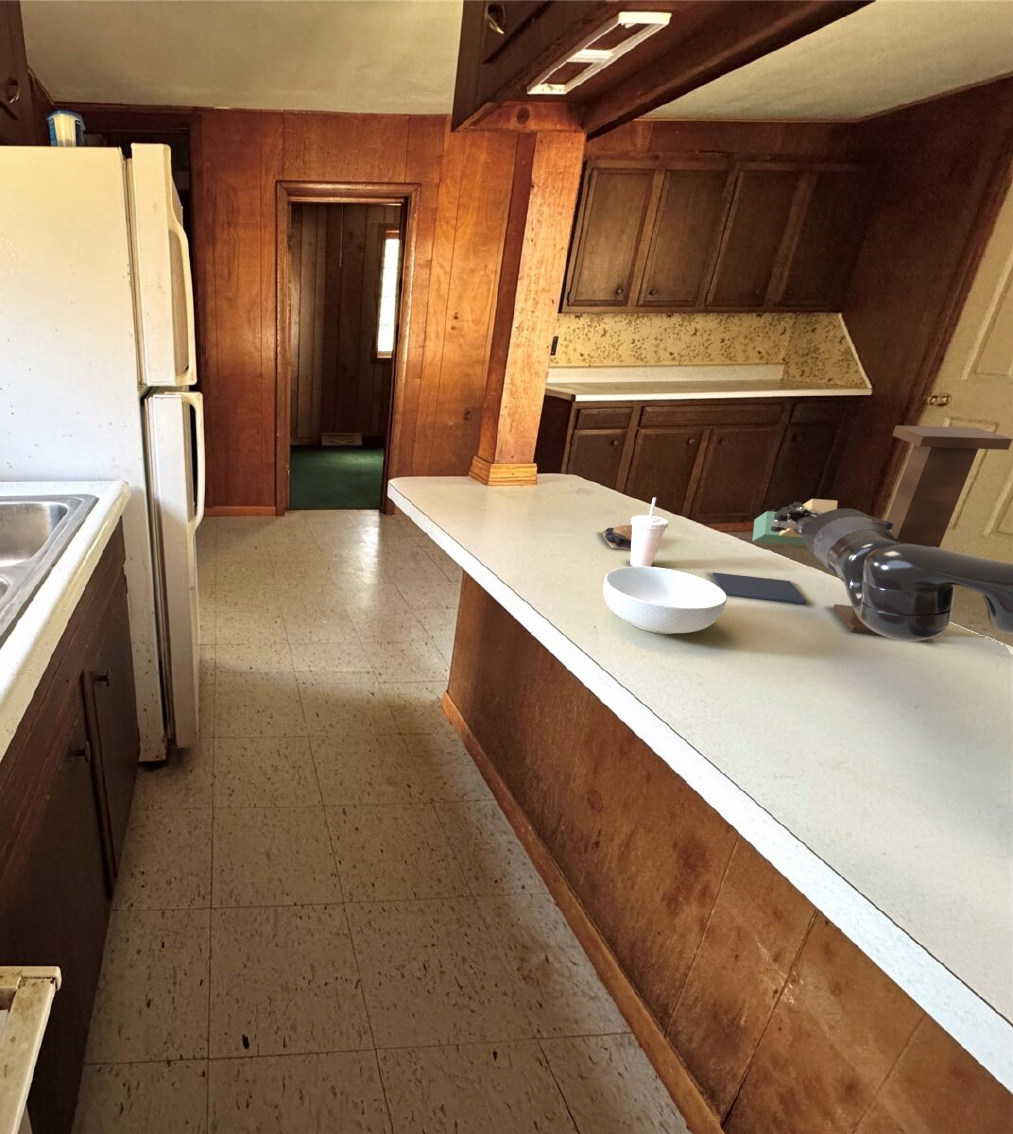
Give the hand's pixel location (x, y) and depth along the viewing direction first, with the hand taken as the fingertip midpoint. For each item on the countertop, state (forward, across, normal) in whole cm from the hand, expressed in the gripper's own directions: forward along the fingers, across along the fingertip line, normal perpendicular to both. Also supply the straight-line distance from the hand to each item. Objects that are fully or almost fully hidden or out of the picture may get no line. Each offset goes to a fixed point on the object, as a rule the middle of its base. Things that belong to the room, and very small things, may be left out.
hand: (809, 509), depth 96 cm
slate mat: (+14, 0, -19) cm, 23 cm away
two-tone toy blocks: (+2, 0, -4) cm, 5 cm away
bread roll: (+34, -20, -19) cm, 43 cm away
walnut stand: (+4, +14, -19) cm, 24 cm away
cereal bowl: (-8, -18, -19) cm, 28 cm away
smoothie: (+20, -18, -19) cm, 33 cm away
